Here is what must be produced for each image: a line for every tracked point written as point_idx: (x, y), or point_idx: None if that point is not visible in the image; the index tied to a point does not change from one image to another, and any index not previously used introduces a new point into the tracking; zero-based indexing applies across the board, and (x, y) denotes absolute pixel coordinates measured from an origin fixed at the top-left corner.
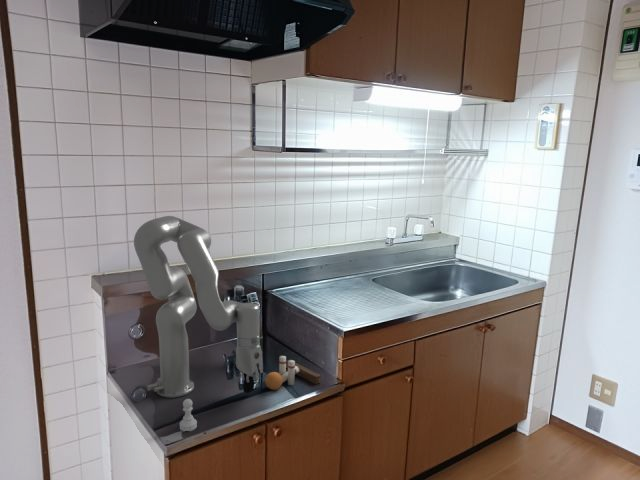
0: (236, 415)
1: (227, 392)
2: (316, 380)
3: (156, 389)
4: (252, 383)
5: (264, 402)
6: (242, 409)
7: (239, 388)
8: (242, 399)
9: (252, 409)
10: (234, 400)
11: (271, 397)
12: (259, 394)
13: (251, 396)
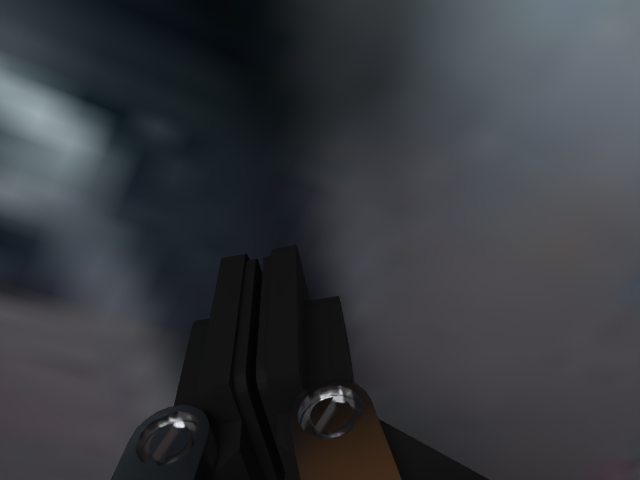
0: (589, 476)
1: (90, 428)
2: None
3: None
4: (347, 378)
5: (577, 167)
6: (534, 413)
7: (22, 298)
8: None
9: (609, 341)
10: None
11: (523, 2)
12: (323, 132)
13: (320, 248)
